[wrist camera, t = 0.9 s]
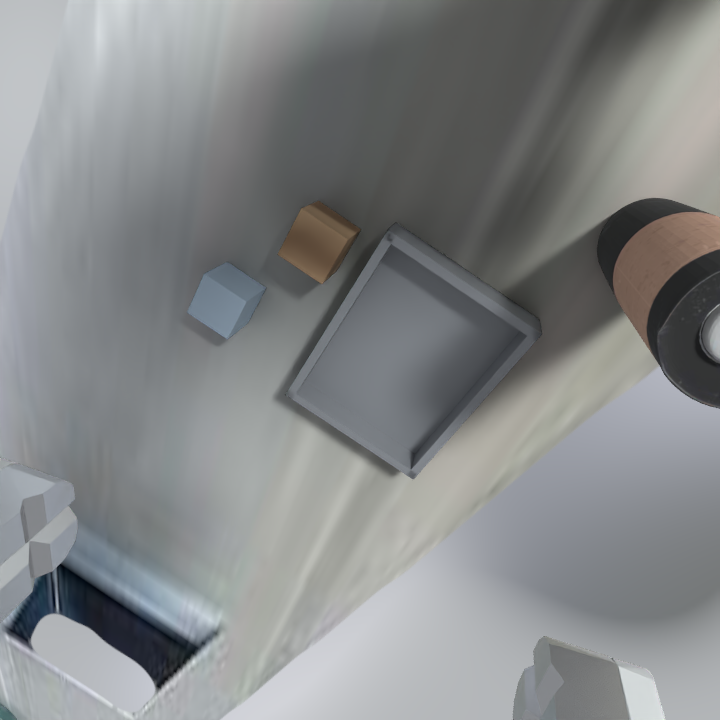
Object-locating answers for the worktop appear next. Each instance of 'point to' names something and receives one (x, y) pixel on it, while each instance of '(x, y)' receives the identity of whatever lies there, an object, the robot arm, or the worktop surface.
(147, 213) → the worktop surface
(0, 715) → the saucer
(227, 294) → the slate block
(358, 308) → the charcoal tray
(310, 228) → the walnut block
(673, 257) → the travel mug
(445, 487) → the worktop surface
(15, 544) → the robot arm
